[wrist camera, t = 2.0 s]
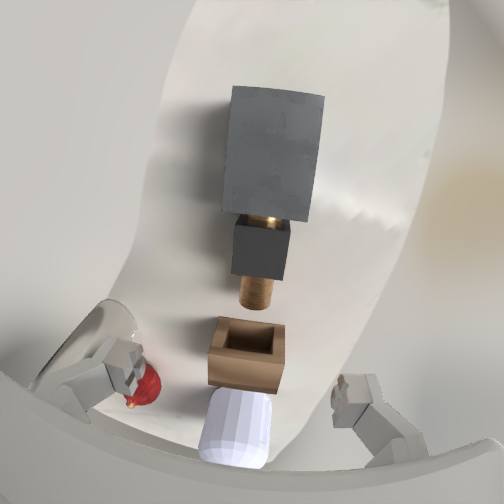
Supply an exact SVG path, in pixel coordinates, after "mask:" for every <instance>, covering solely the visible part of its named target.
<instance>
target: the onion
mask: <svg viewBox="0 0 504 504" xmlns="http://www.w3.org/2000/svg"><path fill="white" fill-rule="evenodd" d="M137 384H138V387H137V389H136V390H135V392H134V394H133V396H132V397H131V396H128V395H125V394H123V395H124V397H125V398H126V400H127V403H126V405H127V407H128V408H133V407H134V406H136V405H147V404H149V403H152V402H153V401H155V400H156V398H157V397H158V395H159V393H160V391H161V380H160V377H159V375H158V373H157V372H156V371H155V370H154V369H153V368H152V367H151V366H149V365H146V368H145V372H144V375H143V377H142V378H141V379H140V380H138V381H137Z"/></svg>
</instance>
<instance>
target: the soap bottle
mask: <svg viewBox="0 0 504 504" xmlns="http://www.w3.org/2000/svg"><path fill="white" fill-rule="evenodd" d="M271 410H272V404H271V401H270V398H269V397H268V396H267V395H266V394H265V393H259V392H251V391H243V390H237V389H230V388H224V387H221V388H219V389H217V390H216V391H215V392H214V393H213V394H212V396H211V400H210V404H209V407H208V411H207V415H206V419H205V423H204V427H203V430H202V434H201V438H200V442H199V446H198V448H199V454H200V457H201V459H202V460H203V461H207V462H213V463H218V464H224V465H230V466H237V467H245V468H254V469H259V468H261V467H263V465H264V464H265V462H266V460H267V458H268V451H269V438H270V424H271Z"/></svg>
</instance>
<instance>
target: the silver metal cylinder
mask: <svg viewBox="0 0 504 504" xmlns="http://www.w3.org/2000/svg"><path fill="white" fill-rule="evenodd" d="M136 330H137V326H136V322H135V319H134V317H133V316H132V314H131V313H130V312H129V311H128V310H127V308H125V307H124V306H123V305H121V304H120V303H118V302H116V301H113V300H103V301H101V302H100V303H99V304H98V305H97V306H96V307H95V308H94V309H93V310H92V311H91V312H90V313H89V315H88V316H87V317H86V318H85V319H84V320H83V321H82V322H81V323H80V325H79V326H78V327H77V328H76V329H75V330H74V331H73V333H72V334H71V335H70V336H69V337H68V339H66V341H65V342H64V343H63V344H62V345H61V347H60V348H59V349H58V350H57V351H56V352H55V354H54V355H53V356H52V357H51V359H50V360H49V361H48V362H47V364H46V365H45V366H44V367H43V369H42V370H41V371H40V372H39V374H38V375H37V376H36V377H35V379H34V380H33V381H32V383H31V384H30V385H29V387H28V388H27V390H29V391H30V392H32V393H34V392H35V390H36V389H37V388H38V386H39V385H40V384H41V382H42V381H43V380H44V378H45V377H46V376H47V375H48V374H51V373H53V372H55V371H58V370H60V369H63V368H65V367H68V366H70V365H72V364H75V363H77V362H79V361H82V360H84V359H86V358H92V357H93V355H94V354H95V353H96V351H97V350H98V349H99V347H100V346H101V345H102V343H103V342H104V341H105V339H106V338H107V337H108V336H110V335H112V336H115V337H118V338H122V339H125V340H128V341H131V339H132V338H133V336H134V335H135V334H136ZM87 411H88V410H87ZM87 411H85V413H86V412H87Z"/></svg>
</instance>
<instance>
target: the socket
mask: <svg viewBox="0 0 504 504" xmlns="http://www.w3.org/2000/svg"><path fill="white" fill-rule="evenodd" d="M284 366H285V325H278V324H270V323H262V322H254V321H247V320H240V319H234V318H227V317H221V316H220V318H219V321H218V324H217V327H216V330H215V333H214V337H213V340H212V343H211V346H210V349H209V352H208V385H213V386H218V387H224V388H230V389H237V390H243V391H251V392H259V393H267V394H277V391H278V387H279V384H280V380H281V376H282V373H283V369H284Z"/></svg>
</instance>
